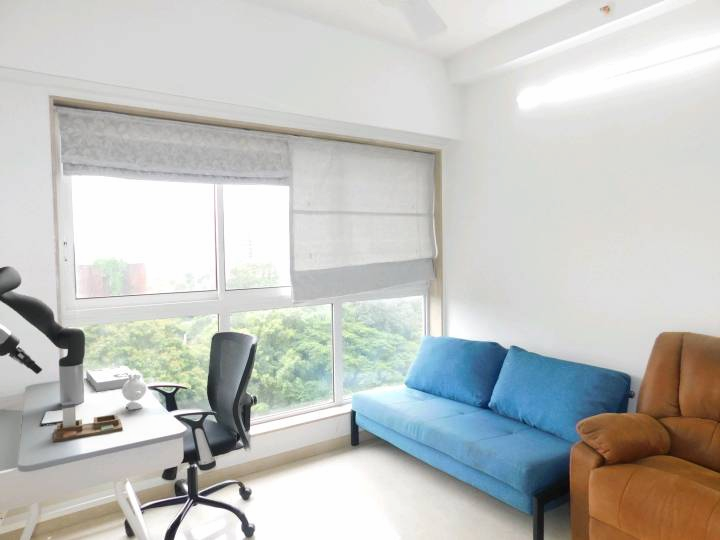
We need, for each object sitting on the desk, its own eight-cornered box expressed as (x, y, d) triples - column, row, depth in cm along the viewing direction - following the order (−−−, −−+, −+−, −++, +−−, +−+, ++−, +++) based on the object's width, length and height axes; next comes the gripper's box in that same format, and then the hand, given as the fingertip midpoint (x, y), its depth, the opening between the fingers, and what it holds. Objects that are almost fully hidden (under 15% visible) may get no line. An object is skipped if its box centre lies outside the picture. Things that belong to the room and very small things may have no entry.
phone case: (66, 424, 192) (69, 412, 206) (66, 420, 191) (69, 408, 206) (39, 428, 188) (45, 415, 202) (39, 424, 188) (44, 411, 202)
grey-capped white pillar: (63, 429, 181) (62, 402, 181) (75, 427, 184) (74, 400, 183) (63, 432, 178) (62, 405, 178) (75, 430, 180) (75, 403, 180)
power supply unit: (124, 373, 273) (124, 364, 273) (139, 386, 247) (138, 376, 246) (86, 379, 261) (86, 370, 261) (97, 393, 235) (96, 382, 235)
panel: (54, 431, 182) (54, 423, 182) (119, 420, 193) (119, 413, 193) (53, 442, 171) (53, 433, 171) (122, 430, 183) (122, 422, 183)
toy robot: (118, 405, 213) (117, 371, 213) (141, 401, 219) (140, 368, 219) (127, 413, 202) (126, 378, 201) (151, 409, 208) (150, 374, 207)
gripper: (-17, 343, 167) (20, 372, 176) (-5, 351, 158) (33, 382, 167) (3, 327, 171) (38, 356, 180) (15, 334, 161) (51, 365, 171)
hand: (35, 369), depth 173 cm, fingers open, 8 cm apart
